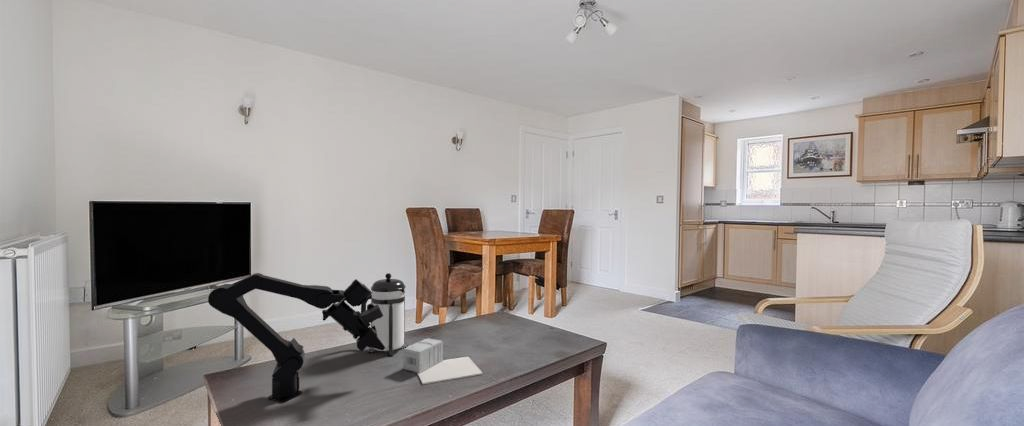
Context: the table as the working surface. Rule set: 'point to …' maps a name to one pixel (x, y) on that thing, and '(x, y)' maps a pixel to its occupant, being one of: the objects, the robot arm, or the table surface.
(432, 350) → the supplement box
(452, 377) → the mat
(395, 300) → the coffee press
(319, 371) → the table surface
